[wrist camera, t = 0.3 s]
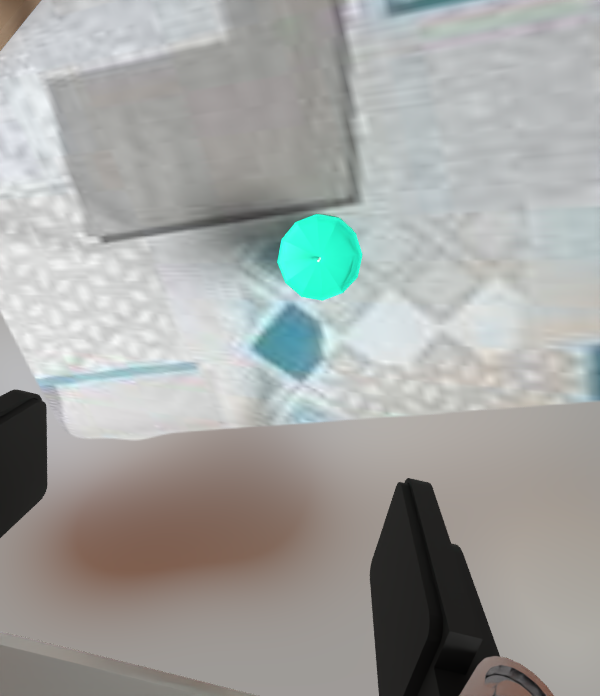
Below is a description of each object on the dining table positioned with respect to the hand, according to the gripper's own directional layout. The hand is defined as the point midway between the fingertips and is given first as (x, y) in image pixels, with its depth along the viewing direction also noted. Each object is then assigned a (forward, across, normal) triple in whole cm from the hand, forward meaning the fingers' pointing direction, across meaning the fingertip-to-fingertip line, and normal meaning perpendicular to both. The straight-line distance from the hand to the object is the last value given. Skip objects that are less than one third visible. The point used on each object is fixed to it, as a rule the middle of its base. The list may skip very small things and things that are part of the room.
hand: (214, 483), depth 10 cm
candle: (+31, -1, -4) cm, 31 cm away
